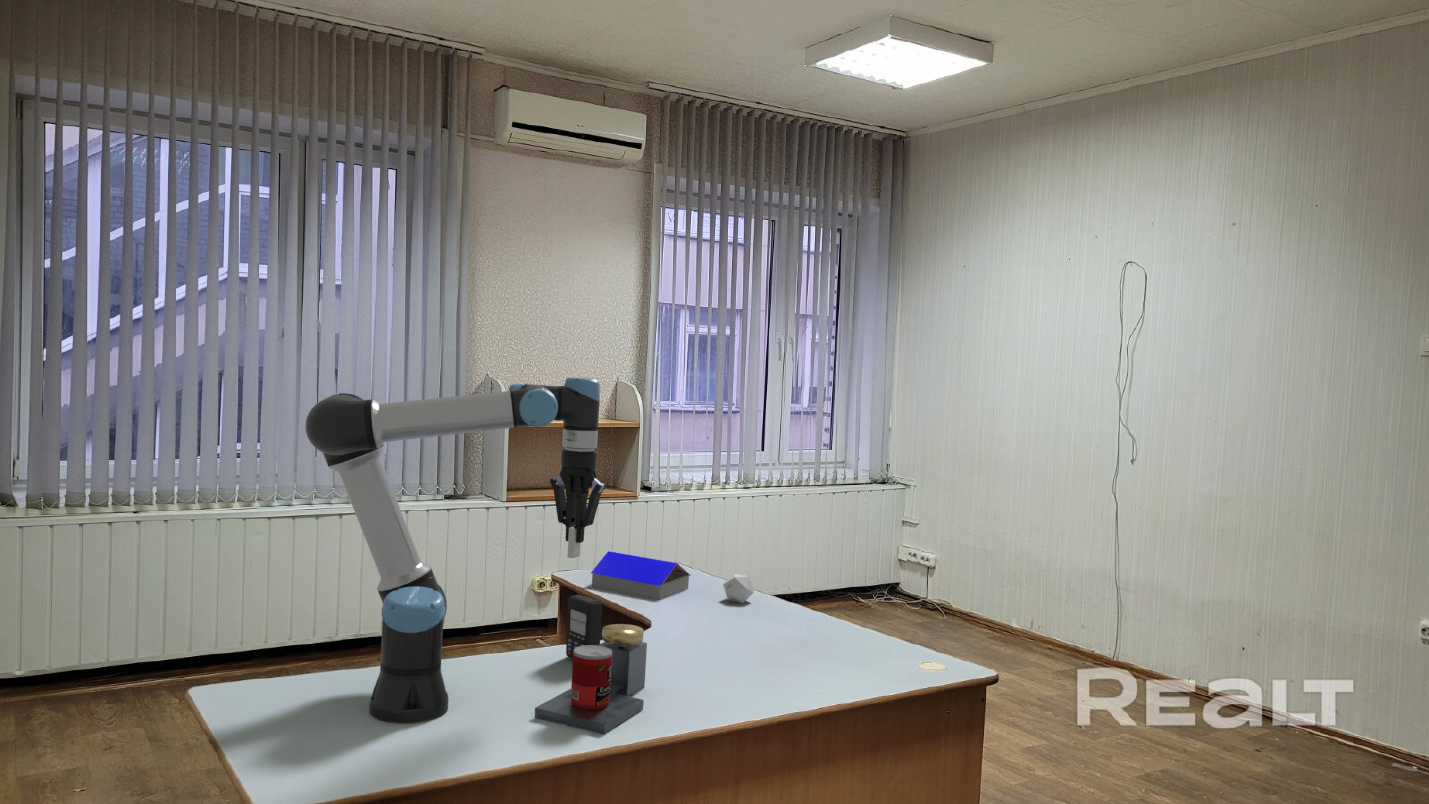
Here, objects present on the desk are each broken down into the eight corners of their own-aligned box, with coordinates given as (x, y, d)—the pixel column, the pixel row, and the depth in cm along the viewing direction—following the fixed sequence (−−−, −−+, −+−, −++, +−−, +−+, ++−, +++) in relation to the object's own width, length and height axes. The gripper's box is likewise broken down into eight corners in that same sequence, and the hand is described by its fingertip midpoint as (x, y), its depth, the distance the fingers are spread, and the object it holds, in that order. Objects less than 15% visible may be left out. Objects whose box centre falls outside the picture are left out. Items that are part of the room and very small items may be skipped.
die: (724, 598, 312) (716, 576, 306) (748, 584, 314) (740, 562, 308) (736, 614, 305) (728, 592, 300) (760, 600, 307) (753, 578, 302)
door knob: (592, 676, 220) (594, 631, 220) (612, 665, 229) (615, 621, 228) (628, 684, 217) (631, 638, 216) (648, 673, 225) (650, 628, 225)
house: (622, 577, 330) (624, 546, 330) (689, 590, 319) (691, 558, 318) (589, 587, 314) (591, 555, 313) (659, 601, 302) (661, 568, 302)
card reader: (562, 657, 243) (566, 595, 242) (576, 654, 245) (579, 593, 245) (586, 667, 236) (589, 604, 235) (600, 664, 239) (603, 601, 238)
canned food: (602, 712, 203) (605, 658, 202) (564, 707, 204) (567, 653, 204) (614, 700, 210) (617, 647, 210) (577, 695, 212) (580, 643, 211)
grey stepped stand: (534, 717, 203) (537, 668, 203) (604, 679, 229) (607, 635, 228) (604, 734, 197) (607, 683, 196) (668, 692, 223) (671, 647, 222)
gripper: (544, 447, 220) (538, 555, 221) (596, 453, 215) (590, 564, 216) (563, 445, 227) (557, 550, 228) (614, 450, 222) (608, 558, 223)
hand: (573, 556), depth 222 cm, fingers closed
